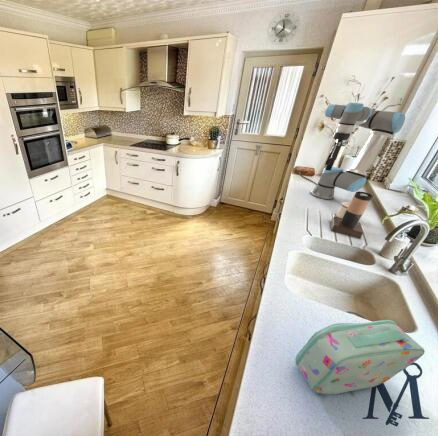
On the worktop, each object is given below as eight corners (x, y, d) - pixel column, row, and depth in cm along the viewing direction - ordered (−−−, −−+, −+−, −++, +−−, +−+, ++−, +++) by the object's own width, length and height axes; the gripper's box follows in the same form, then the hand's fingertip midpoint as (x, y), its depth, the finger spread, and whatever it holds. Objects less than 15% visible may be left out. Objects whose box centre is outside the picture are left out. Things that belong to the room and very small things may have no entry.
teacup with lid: (350, 222, 152) (359, 206, 146) (334, 216, 157) (342, 201, 152) (353, 216, 160) (361, 200, 154) (337, 211, 165) (345, 196, 159)
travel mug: (353, 222, 143) (370, 193, 133) (357, 228, 137) (375, 198, 127) (338, 219, 146) (354, 190, 136) (341, 225, 140) (358, 195, 130)
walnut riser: (330, 221, 152) (333, 215, 150) (357, 228, 146) (360, 222, 144) (331, 230, 142) (334, 225, 140) (359, 238, 135) (363, 232, 133)
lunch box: (359, 351, 76) (397, 308, 65) (392, 386, 68) (442, 343, 57) (286, 362, 72) (314, 318, 61) (311, 401, 63) (348, 357, 53)
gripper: (334, 128, 147) (320, 161, 158) (336, 134, 129) (320, 171, 140) (349, 130, 144) (333, 164, 154) (353, 136, 125) (335, 173, 136)
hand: (327, 167), depth 147 cm, fingers open, 13 cm apart
